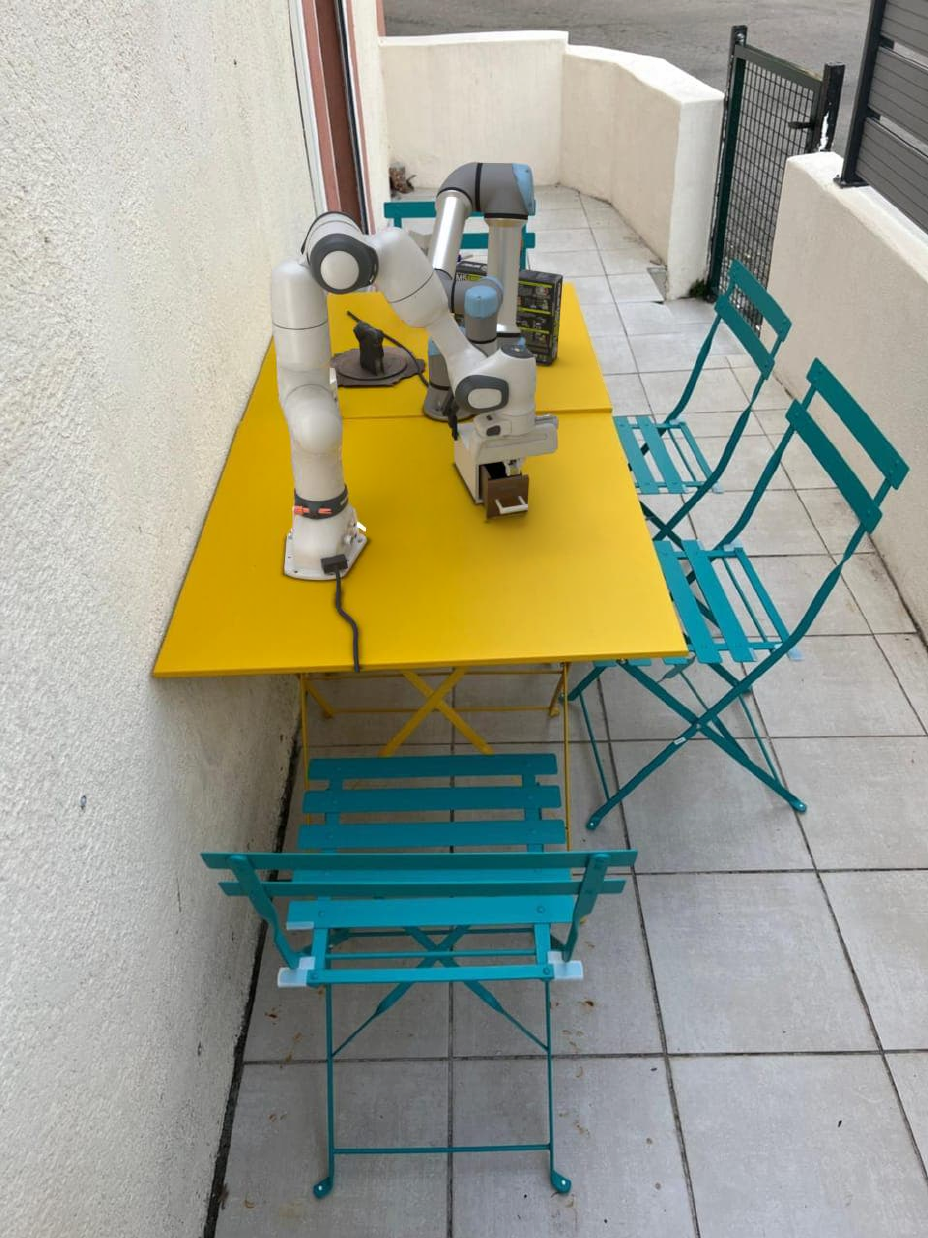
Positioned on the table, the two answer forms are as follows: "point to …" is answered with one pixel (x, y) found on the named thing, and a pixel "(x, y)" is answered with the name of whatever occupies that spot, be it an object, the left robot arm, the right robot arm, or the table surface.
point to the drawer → (502, 490)
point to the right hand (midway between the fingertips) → (480, 434)
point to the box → (528, 307)
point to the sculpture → (373, 360)
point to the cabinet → (467, 461)
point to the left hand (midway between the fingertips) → (512, 473)
